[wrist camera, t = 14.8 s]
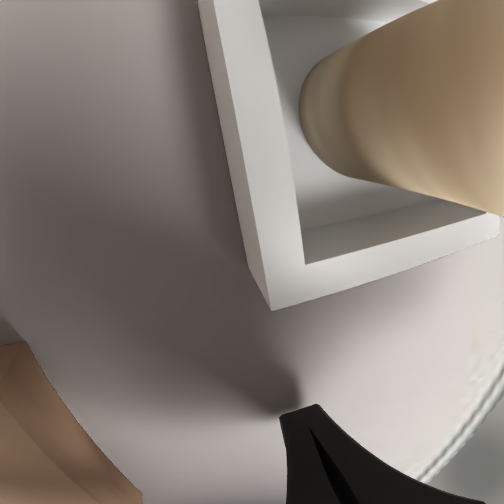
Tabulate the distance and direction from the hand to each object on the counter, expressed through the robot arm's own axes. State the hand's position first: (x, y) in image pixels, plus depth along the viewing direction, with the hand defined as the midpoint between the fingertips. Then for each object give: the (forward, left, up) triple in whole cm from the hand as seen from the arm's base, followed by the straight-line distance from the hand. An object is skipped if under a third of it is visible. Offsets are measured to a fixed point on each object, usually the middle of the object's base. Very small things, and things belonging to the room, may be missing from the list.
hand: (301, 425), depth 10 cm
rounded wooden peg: (+10, -3, -1) cm, 10 cm away
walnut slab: (0, +12, -2) cm, 12 cm away
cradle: (+10, -3, -1) cm, 10 cm away
